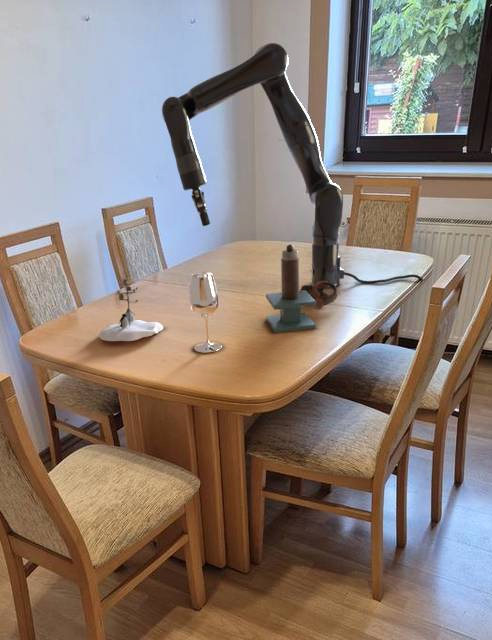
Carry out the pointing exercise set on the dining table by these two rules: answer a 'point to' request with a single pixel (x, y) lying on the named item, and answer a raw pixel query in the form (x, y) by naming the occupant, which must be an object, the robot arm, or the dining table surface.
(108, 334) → the figurine
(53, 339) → the dining table surface
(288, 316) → the stand
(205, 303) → the wineglass
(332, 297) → the brown clay hollow piece
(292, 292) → the pepper mill
